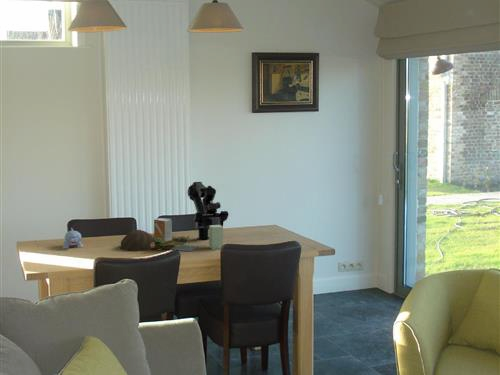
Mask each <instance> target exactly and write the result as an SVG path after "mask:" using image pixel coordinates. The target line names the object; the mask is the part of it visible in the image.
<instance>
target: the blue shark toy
mask: <svg viewBox="0 0 500 375" xmlns="http://www.w3.org/2000/svg"><path fill="white" fill-rule="evenodd" d="M81 240H82V234H81V233H80V232H79V231H77V230H74V229H73V227H70V230H69V231H67V232H66V233H65V235H64V242H63V244H62V248H63V249H68V248H70V247H71V245H75V246H76V247H77V248H83V247H84V245H83V243H82V242H81Z"/></svg>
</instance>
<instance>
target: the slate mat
mask: <svg viewBox="0 0 500 375" xmlns="http://www.w3.org/2000/svg"><path fill="white" fill-rule="evenodd" d="M198 247H199V246H198V245H187V244H186V245H183V246H179V247H175V246H173V247H172V248H170V250H178V251H177V252H189V253H190V252H194V251H195V250H196V249H197V248H198ZM170 250H169V251H170Z"/></svg>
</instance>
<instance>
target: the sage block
mask: <svg viewBox="0 0 500 375" xmlns="http://www.w3.org/2000/svg"><path fill="white" fill-rule="evenodd" d="M208 237H209V239H208V242H209V243H208V244H209V245H208V247H209V248H210V249H211V250H217V249H218V250H220V247H221V246H222V245H223V246H224V225H223V226H221V225H220V224H214V225H213V224H212V225H209V229H208Z"/></svg>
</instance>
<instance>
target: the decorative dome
mask: <svg viewBox="0 0 500 375" xmlns="http://www.w3.org/2000/svg"><path fill="white" fill-rule="evenodd" d="M152 242H155V240H154V236H152V235H151V233H149V232H147V231H146V230H143V229H134V230H132V231H130V232H128V233H127V234H126V235H125V236H124V237H123V238H122V240H121V241H120V250H124V251H126V252H128V251H129V252H132V251H133V252H142V251H144V252H145V251H150V250H152V249H151V246H150V244H151V243H152Z"/></svg>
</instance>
